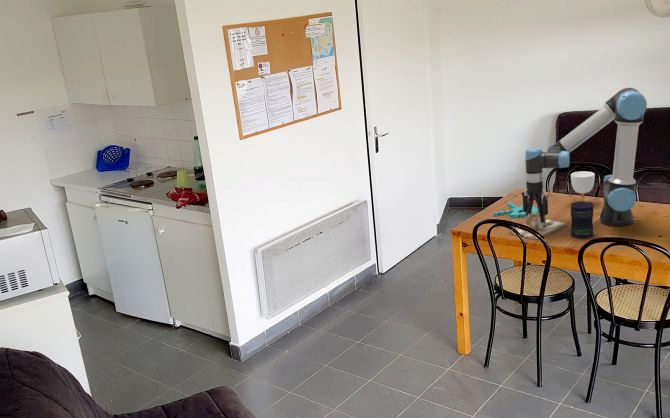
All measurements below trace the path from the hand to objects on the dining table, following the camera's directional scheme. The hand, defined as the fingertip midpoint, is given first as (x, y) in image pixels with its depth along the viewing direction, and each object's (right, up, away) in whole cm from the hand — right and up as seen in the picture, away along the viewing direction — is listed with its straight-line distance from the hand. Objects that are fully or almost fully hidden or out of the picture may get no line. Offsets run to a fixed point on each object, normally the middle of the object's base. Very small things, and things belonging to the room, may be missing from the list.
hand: (535, 227), depth 317 cm
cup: (+34, +11, +31) cm, 47 cm away
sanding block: (0, 0, 0) cm, 0 cm away
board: (+2, -1, +2) cm, 3 cm away
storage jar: (+18, -4, -11) cm, 21 cm away
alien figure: (+1, +7, +31) cm, 32 cm away
